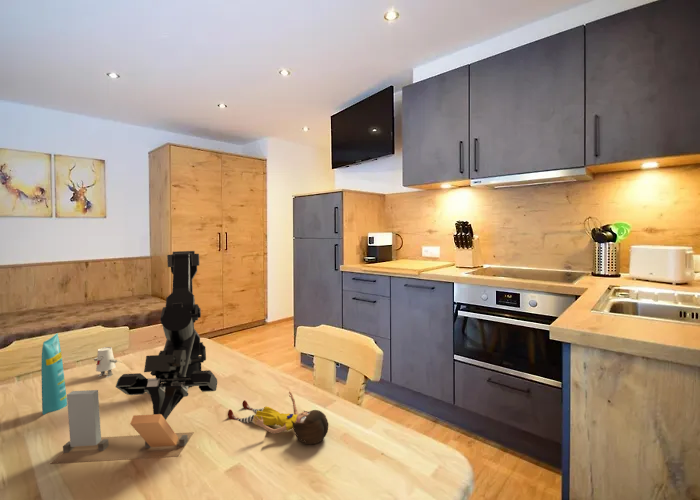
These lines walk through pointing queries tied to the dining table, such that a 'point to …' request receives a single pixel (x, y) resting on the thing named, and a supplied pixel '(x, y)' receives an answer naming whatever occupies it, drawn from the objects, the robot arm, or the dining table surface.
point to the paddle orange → (154, 430)
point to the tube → (52, 376)
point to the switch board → (120, 449)
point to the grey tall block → (84, 418)
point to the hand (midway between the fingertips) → (157, 427)
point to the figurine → (289, 422)
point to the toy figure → (105, 361)
